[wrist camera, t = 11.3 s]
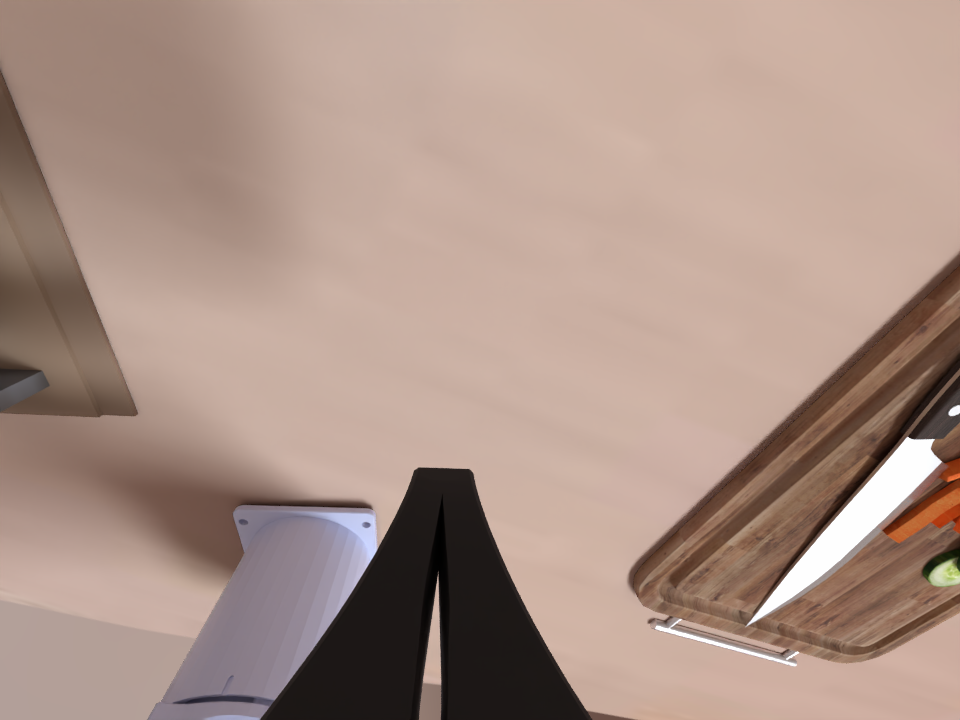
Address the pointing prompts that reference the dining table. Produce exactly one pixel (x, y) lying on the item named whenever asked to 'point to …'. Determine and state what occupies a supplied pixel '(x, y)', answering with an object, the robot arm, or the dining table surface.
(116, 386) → the dock bay
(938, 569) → the chopping board
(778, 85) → the dining table surface
